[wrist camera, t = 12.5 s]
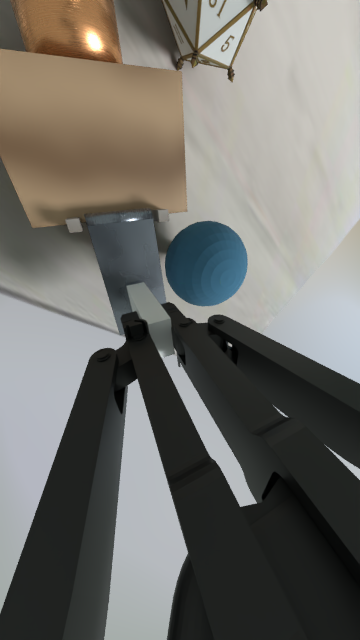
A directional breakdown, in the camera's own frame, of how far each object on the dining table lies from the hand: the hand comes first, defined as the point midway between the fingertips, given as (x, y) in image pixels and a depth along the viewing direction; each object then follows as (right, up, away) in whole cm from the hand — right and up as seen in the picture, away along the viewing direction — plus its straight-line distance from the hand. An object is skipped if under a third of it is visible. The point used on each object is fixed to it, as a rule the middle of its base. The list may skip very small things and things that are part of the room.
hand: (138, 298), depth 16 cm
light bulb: (+3, +8, +10) cm, 13 cm away
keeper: (-1, +2, 0) cm, 2 cm away
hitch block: (-4, +13, +2) cm, 14 cm away
